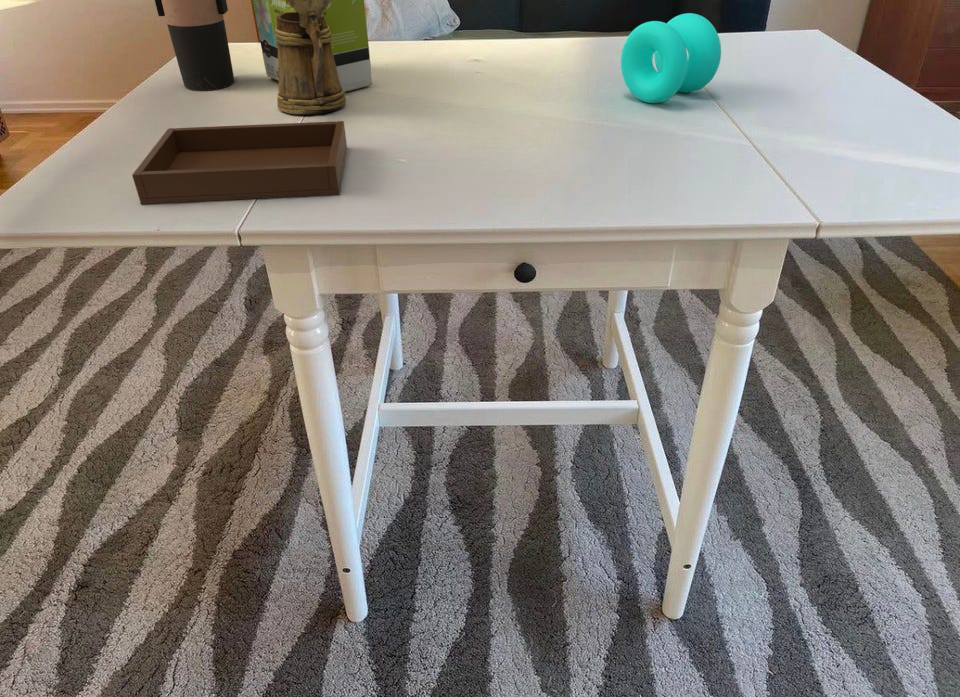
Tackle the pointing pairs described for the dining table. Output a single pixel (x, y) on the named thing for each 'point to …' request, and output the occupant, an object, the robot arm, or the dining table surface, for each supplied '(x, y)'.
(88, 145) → the dining table surface
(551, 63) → the dining table surface
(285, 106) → the wooden mug
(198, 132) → the serving tray
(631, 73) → the donuts
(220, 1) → the robot arm
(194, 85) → the travel mug
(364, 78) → the tea box
